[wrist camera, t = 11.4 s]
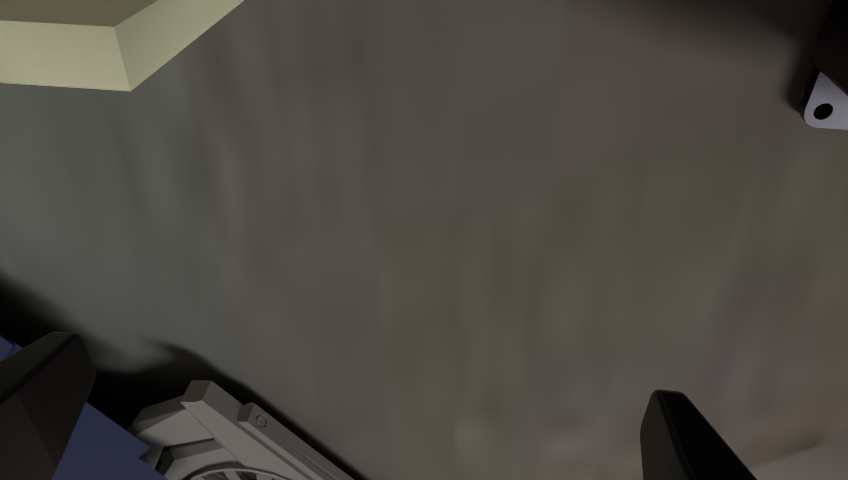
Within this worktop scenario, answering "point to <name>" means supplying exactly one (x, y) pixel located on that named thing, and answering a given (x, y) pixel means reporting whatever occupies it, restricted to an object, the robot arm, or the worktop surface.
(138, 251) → the worktop surface
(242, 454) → the graphics card
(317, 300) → the worktop surface
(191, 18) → the equipment case
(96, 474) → the navy flat panel
